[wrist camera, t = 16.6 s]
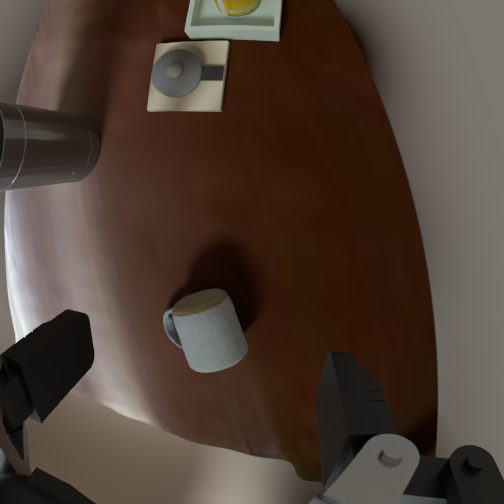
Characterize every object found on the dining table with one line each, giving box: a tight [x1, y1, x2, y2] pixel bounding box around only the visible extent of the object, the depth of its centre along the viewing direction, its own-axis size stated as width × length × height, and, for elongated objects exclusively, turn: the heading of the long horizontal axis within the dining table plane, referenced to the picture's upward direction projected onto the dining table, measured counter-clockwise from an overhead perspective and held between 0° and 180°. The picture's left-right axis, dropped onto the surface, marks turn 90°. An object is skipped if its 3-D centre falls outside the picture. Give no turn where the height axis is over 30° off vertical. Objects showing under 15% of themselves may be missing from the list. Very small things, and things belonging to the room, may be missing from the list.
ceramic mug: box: [163, 289, 248, 372], centre depth 37 cm, size 11×8×8 cm
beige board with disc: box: [147, 41, 230, 112], centre depth 32 cm, size 9×9×3 cm
